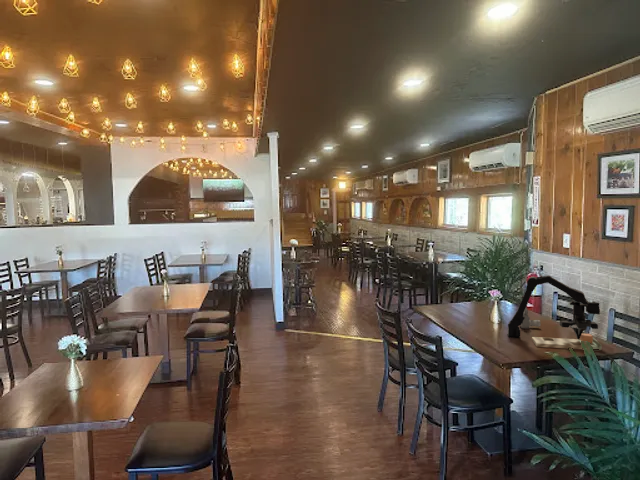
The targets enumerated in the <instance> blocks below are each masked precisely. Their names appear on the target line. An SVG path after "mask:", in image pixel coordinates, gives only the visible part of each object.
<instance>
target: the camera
mask: <svg viewBox="0 0 640 480" xmlns="http://www.w3.org/2000/svg"><path fill="white" fill-rule="evenodd" d="M524 315H526V317H525V319H524V322H523V324H522V323H521V325H520V326H519V328H521V329H530V327H538V328H539V327H541V326H542V325H541V320H540V319H535V320H531V319H530V316H529V315H528V308H527V306H526V308H525V311H524Z"/></svg>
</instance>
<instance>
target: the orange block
mask: <svg viewBox="0 0 640 480" xmlns="http://www.w3.org/2000/svg"><path fill="white" fill-rule="evenodd" d="M593 338H594V336H593V335H592V334H591V333H582V334H581V336H580V339H579V340H581V341H588V342H590V343H593Z"/></svg>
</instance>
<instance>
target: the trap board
mask: <svg viewBox="0 0 640 480" xmlns="http://www.w3.org/2000/svg"><path fill="white" fill-rule="evenodd" d="M531 341H532V342H533V344H534V345H535V347H538V348H555V349H556V348H557V349H568V347H571V348H573V349H572V350H583V349H582V347H581V340H580V339H577V338H559V337H558V338H557V337H542V336H541V337H537V336H532V337H531ZM590 344H591V346H592V347H593V349H599V350H598V351H602V345H603V344H602V343H600V342H599V341H598V340H597V339H596V338H595V337H593V343H590Z"/></svg>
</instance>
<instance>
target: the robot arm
mask: <svg viewBox="0 0 640 480" xmlns="http://www.w3.org/2000/svg"><path fill="white" fill-rule="evenodd" d="M543 284H544V285H545V284H549V285H551V286H553V287H555V288H556V289H558V290H560V291H562V292H563V293H565V294H566V295H568V296H569V297H570V298H571V299H572V300H571V302H569V306H572V320H571V321H572V322H569V321H568V320H560V321H559V326H560V327H561V328H569V327H570V328H571V329H572V330H573V332H574V333H575V337H576V339H577V340H580V336H581V334H583V332H584V331H587V329H588V328H591V329H592V330H598V329H599V324H598V323H596V322H595V321H591V319H586V316H585V312H586V313H588V314H590V315H600V314H601V308H600V302H599V301H597V302H593V301H592V302H591V301H589V300H588V299H587V298H586V295H585V293H584V292H583V291H582V290H578V289H576V288H572V287H570V286H568V285H566V284H565V283H563V282H561V281H559V280H558V279H556V278H554V277H552V276H551V275H544V276H543V275H542V276H533V275H532V276H530V277H528V280H527V282H526V286H525V291H524V294H523V296H522V299H521V301H520V304H519V307H518V309H517V310H516V312H515V314H514V315H513V316H512V319H511V320H509V322H508V324H507V335H506V336H507V338H511V339H520V338H521V329H520V326H521V323H522V324H523V322H524V319H525V317H526V315H524V311H525V308H526V307H527V305H528V303H529V300H530V298H531V295H532V294H533V292H534V291H535V289H536V287H537V286H538V285H539V286H540V285H543Z"/></svg>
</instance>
